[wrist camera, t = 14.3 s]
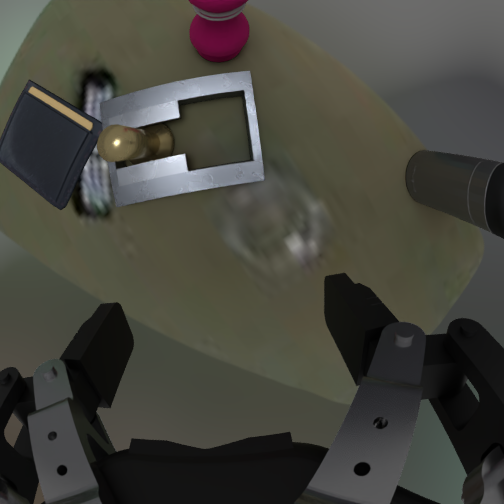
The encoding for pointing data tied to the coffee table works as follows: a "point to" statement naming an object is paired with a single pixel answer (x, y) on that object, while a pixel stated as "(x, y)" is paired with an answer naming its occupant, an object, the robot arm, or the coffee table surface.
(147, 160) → the bolt
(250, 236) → the coffee table surface
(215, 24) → the pepper mill
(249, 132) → the keyhole plate
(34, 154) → the wallet
